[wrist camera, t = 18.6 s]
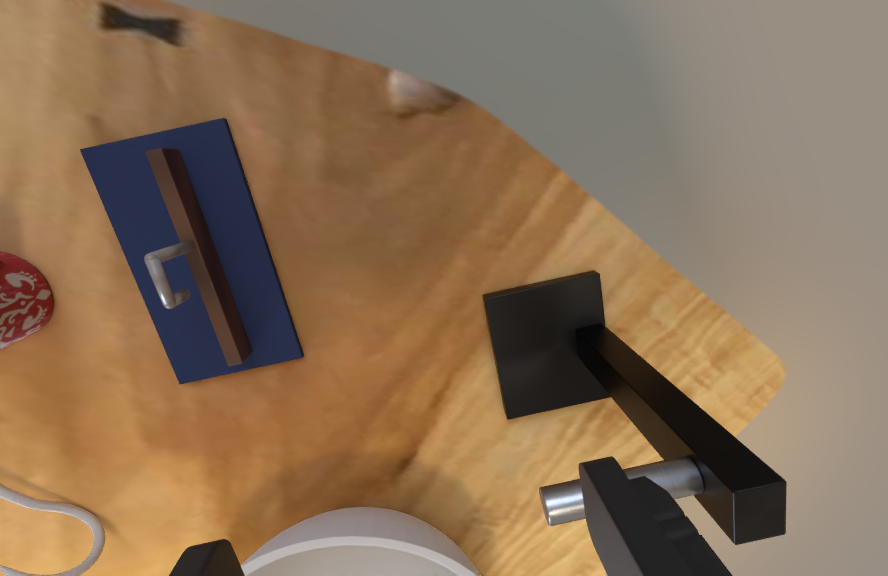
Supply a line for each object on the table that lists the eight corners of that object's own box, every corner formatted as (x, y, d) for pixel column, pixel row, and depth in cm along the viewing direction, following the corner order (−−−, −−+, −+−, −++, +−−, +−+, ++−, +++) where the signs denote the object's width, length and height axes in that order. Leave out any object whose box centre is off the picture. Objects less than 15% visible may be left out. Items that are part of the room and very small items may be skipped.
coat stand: (476, 295, 38) (544, 444, 18) (594, 270, 38) (796, 389, 18) (499, 414, 41) (579, 652, 21) (608, 390, 41) (791, 606, 21)
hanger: (163, 152, 33) (90, 148, 25) (179, 149, 33) (110, 144, 25) (239, 354, 37) (196, 399, 30) (253, 351, 37) (213, 395, 30)
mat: (84, 149, 33) (79, 149, 32) (226, 118, 33) (223, 118, 32) (182, 381, 38) (179, 384, 38) (304, 355, 38) (302, 357, 38)
